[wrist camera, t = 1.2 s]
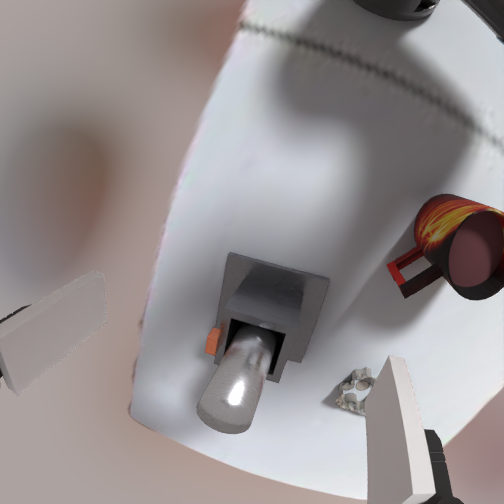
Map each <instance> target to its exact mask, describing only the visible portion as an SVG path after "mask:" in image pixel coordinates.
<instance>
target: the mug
mask: <svg viewBox="0 0 504 504" xmlns="http://www.w3.org/2000/svg"><path fill="white" fill-rule="evenodd" d="M414 236H415V241H416V244H417V246H416V247H415V248H413V249H412V250H410V251H409V252H407V253H405V254H404V255H402V256H401V257H399V258H397V259H396V260H394V261H392V262H390V263H389V264H387V267H388V269H389V272H390V273H391V275H392V277H393V279H394V281H396V283H397V285H398V287H399V289H400V290H401V292H402V294H403V296H404V298H407V297H409V296H411V295H413V294H415V293H416V292H418V291H419V290H421V289H423V288H424V287H426V286H427V285H429V284H431V283H432V282H434V281H435V280H437V279H438V278H440V277H442V276H443V277H444V278H445V279H446V281H447V282H448V283H449V284H450V285H451V286H452V287H453V288H454V290H455V291H456V292H457V293H458V294H459V295H461V296H462V297H464V298H466V299H469V300H483V299H487V298H489V297H491V296H493V295H495V294H496V293H498V292H499V291H500V290H501V289H502V288H503V287H504V212H502V211H500V210H498V209H495V208H492V207H489V206H486V205H484V204H481V203H478V202H475V201H472V200H469V199H465V198H462V197H459V196H456V195H452V194H440V195H437V196H434V197H432V198H431V199H429V200H428V201H427V202H426V203H425V204H424V205H423V206H422V208H421V209H420V211H419V213H418V215H417V218H416V221H415V227H414ZM422 256H424V257H425V258H426V259H427V260H428V261H429V262H430V263H431V264H432V266H431V267H429V268H427V269H426V270H424V271H423V272H421V273H420V274H418V275H416V276H415V277H413V278H412V279H410V280H408V281H407V282H406V281H405V279H404V278H403V276H402V274H401V273H400V271H399V270H401V269H402V268H404V267H406V266H407V265H409V264H411V263H412V262H414V261H415V260H417V259H418V258H420V257H422Z"/></svg>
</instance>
